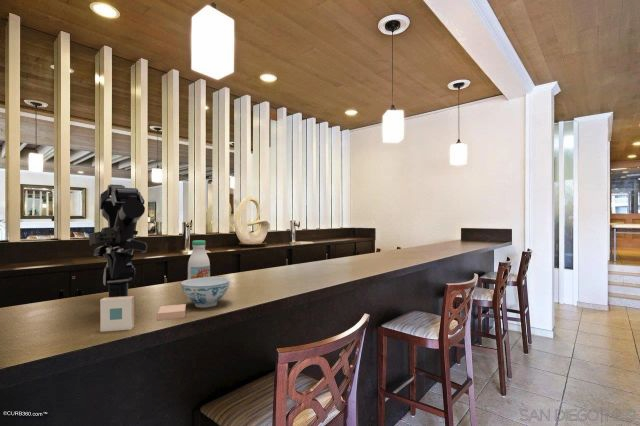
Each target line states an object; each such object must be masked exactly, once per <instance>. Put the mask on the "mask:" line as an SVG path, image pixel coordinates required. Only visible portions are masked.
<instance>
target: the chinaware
mask: <svg viewBox="0 0 640 426" xmlns="http://www.w3.org/2000/svg"><path fill="white" fill-rule="evenodd" d="M230 282H231V280H230V278H227V277H221V276H220V277H219V276H210V277H204V278H195V279H189V280H188V279H186V280H183V281H182V282H181V284H180V286H181V288H182V289H181V290H182V291H183V294H184V296H185V297H186V298H187V299H188V300H189V301H190V302H191V303H193V304H194V306H195V307H196V308H209V307H210V308H211V307H215V306H217V304H218V302H219V301H220V300H222V298H223V297H224V296H225V294H226V293H227V291H228V288H229V286H230Z"/></svg>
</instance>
